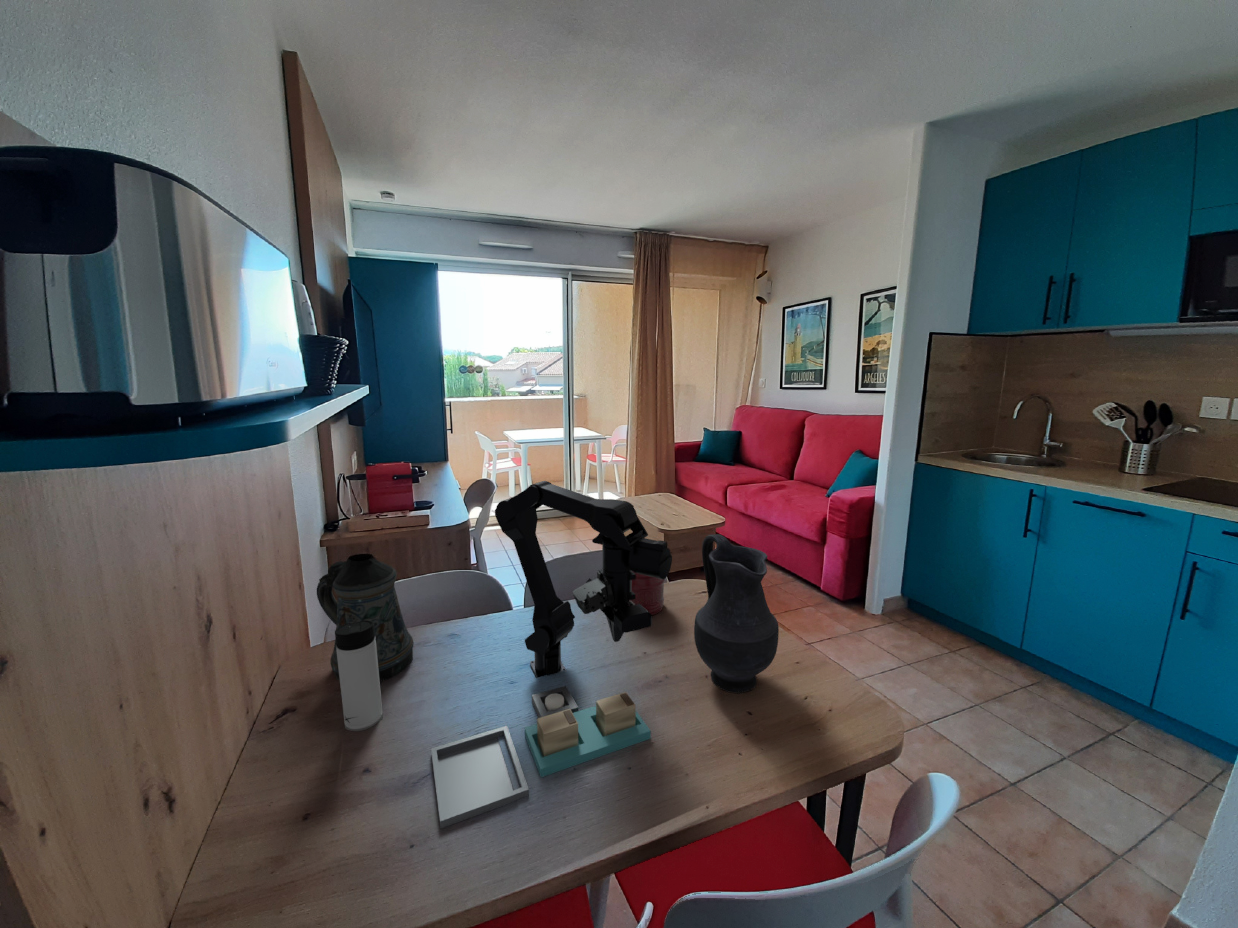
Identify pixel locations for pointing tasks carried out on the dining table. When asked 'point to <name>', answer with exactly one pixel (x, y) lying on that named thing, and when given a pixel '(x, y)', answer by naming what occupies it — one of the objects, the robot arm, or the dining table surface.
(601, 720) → the block
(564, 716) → the block
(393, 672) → the beer stein
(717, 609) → the pitcher
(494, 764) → the grey tray
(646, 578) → the canister
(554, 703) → the button
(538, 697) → the button housing
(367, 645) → the travel mug
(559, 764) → the teal block holder tray
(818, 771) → the dining table surface
